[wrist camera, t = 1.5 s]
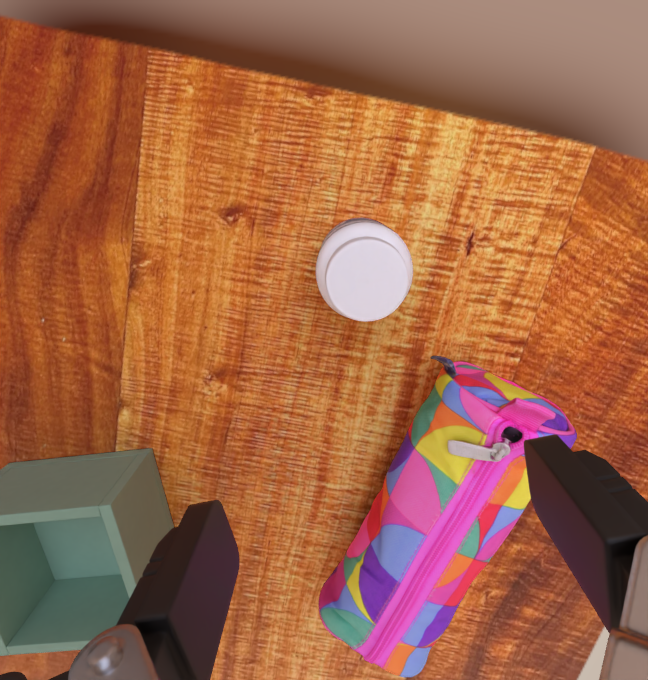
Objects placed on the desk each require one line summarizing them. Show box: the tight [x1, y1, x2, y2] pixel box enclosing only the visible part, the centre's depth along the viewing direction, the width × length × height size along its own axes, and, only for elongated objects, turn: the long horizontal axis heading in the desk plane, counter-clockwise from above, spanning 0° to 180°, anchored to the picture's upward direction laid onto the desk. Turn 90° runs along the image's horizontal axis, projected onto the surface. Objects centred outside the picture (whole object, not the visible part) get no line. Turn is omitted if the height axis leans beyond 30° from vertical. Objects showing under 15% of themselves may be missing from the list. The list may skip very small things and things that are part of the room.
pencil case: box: [319, 356, 577, 677], centre depth 31 cm, size 22×9×9 cm, turn 159°
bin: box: [0, 448, 174, 656], centre depth 34 cm, size 12×12×7 cm
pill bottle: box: [316, 218, 413, 322], centre depth 26 cm, size 5×5×9 cm
